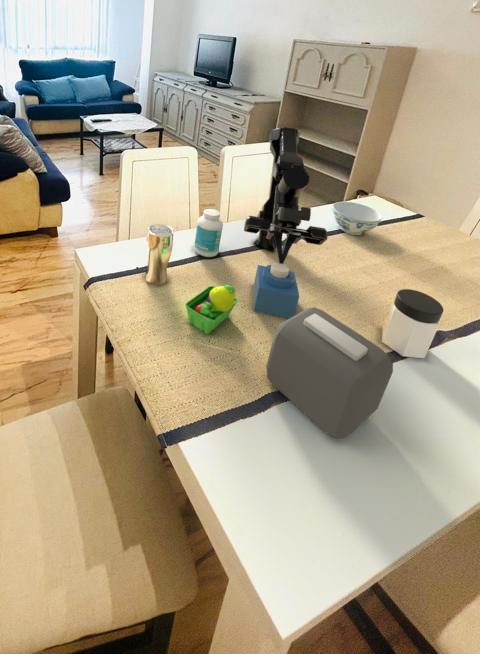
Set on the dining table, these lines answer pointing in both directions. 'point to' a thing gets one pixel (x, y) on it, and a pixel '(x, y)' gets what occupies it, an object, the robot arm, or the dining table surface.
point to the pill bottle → (208, 233)
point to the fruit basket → (211, 307)
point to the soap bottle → (275, 293)
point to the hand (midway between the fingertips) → (281, 263)
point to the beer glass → (158, 253)
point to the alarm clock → (328, 370)
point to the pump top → (279, 270)
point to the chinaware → (355, 217)
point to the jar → (412, 323)
